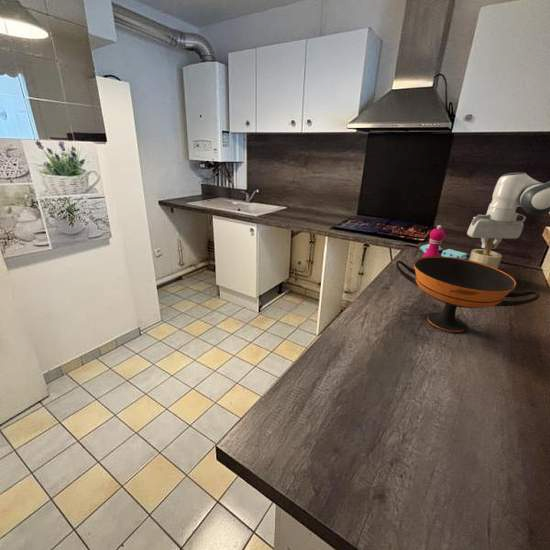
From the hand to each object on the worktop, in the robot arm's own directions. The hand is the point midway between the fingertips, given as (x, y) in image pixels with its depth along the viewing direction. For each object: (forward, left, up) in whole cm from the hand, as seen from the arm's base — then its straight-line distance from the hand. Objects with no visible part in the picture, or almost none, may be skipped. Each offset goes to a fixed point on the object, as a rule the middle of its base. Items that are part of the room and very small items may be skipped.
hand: (488, 248), depth 121 cm
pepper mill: (+17, -10, -13) cm, 24 cm away
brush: (0, 0, -11) cm, 11 cm away
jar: (0, 0, -13) cm, 13 cm away
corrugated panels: (-4, -23, -13) cm, 27 cm away
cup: (+37, +37, -13) cm, 54 cm away
